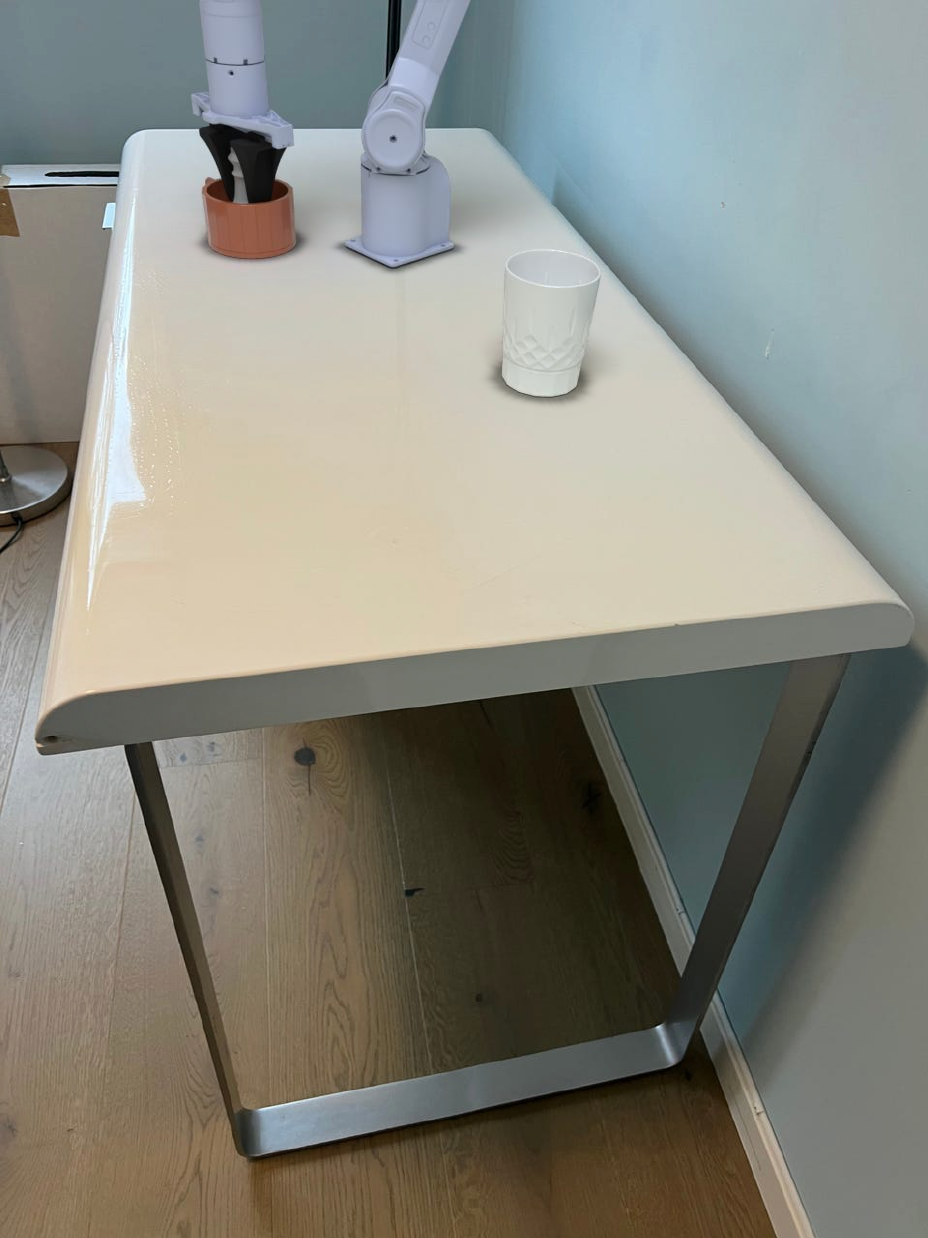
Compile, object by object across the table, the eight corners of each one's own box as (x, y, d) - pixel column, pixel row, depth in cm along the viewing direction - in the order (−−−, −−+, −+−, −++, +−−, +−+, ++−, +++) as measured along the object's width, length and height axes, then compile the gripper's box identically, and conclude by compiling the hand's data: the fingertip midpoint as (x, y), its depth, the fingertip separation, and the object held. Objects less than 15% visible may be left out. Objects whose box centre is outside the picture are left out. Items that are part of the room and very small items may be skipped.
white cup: (579, 407, 80) (596, 292, 73) (488, 393, 81) (497, 279, 74) (588, 365, 86) (605, 255, 79) (503, 352, 86) (513, 243, 80)
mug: (313, 245, 103) (310, 192, 99) (242, 265, 98) (236, 211, 94) (246, 212, 109) (241, 162, 106) (175, 230, 104) (168, 178, 100)
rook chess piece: (231, 218, 103) (223, 139, 98) (273, 219, 103) (266, 141, 98) (227, 233, 100) (218, 153, 94) (270, 235, 100) (263, 154, 95)
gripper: (157, 48, 92) (178, 192, 101) (245, 80, 85) (259, 232, 94) (218, 40, 96) (232, 179, 105) (307, 70, 89) (314, 217, 98)
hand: (249, 203), depth 100 cm, fingers closed on rook chess piece, 3 cm apart
